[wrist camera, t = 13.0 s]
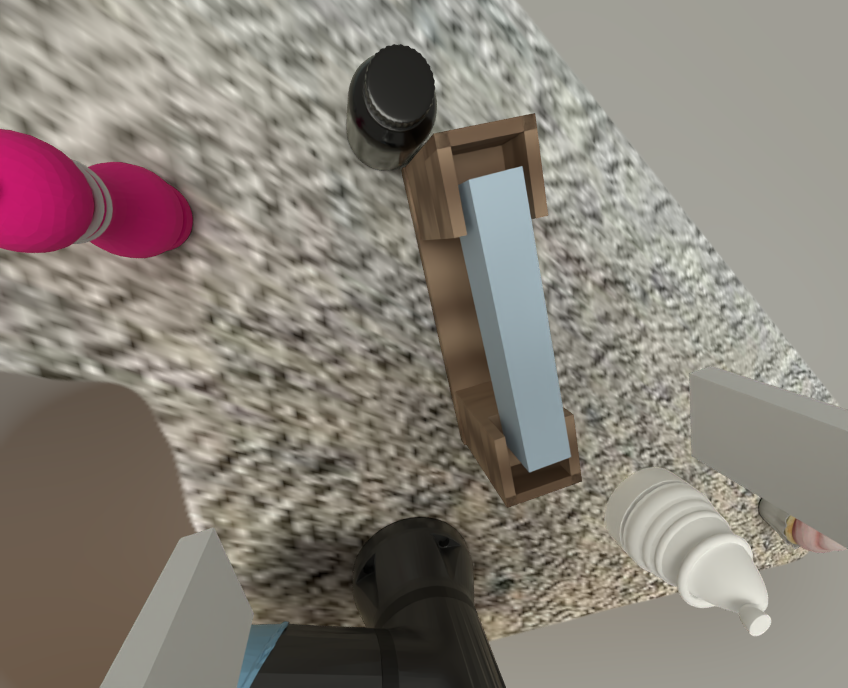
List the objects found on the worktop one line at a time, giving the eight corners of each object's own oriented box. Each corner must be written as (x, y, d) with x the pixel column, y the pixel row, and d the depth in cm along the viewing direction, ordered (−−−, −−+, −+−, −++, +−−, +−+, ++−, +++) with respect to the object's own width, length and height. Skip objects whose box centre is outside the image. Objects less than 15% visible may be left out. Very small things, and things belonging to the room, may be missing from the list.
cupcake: (807, 495, 63) (890, 539, 54) (766, 536, 64) (841, 587, 54) (783, 463, 60) (866, 504, 51) (740, 507, 61) (814, 555, 51)
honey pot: (603, 554, 57) (716, 686, 40) (604, 477, 54) (729, 585, 37) (679, 533, 59) (817, 649, 42) (685, 458, 56) (837, 551, 39)
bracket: (522, 421, 49) (584, 480, 36) (461, 440, 48) (504, 508, 35) (476, 153, 40) (538, 112, 28) (401, 169, 39) (430, 134, 26)
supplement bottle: (429, 121, 38) (467, 68, 27) (396, 185, 39) (420, 160, 28) (366, 77, 36) (379, 0, 25) (333, 146, 37) (331, 101, 26)
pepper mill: (183, 269, 37) (20, 295, 18) (98, 235, 35) (-190, 222, 16) (210, 197, 36) (68, 143, 17) (124, 157, 34) (-149, 44, 15)
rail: (542, 431, 39) (571, 457, 34) (505, 444, 38) (529, 472, 34) (495, 177, 32) (522, 166, 27) (449, 189, 31) (468, 179, 27)
